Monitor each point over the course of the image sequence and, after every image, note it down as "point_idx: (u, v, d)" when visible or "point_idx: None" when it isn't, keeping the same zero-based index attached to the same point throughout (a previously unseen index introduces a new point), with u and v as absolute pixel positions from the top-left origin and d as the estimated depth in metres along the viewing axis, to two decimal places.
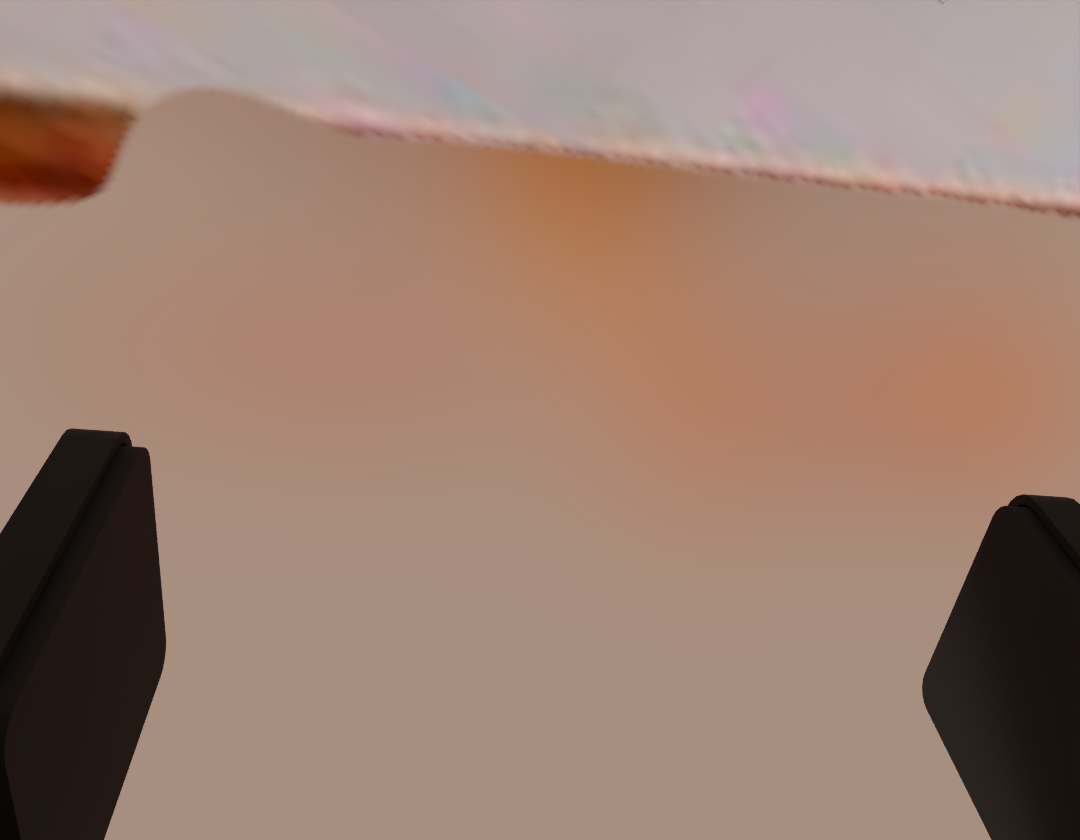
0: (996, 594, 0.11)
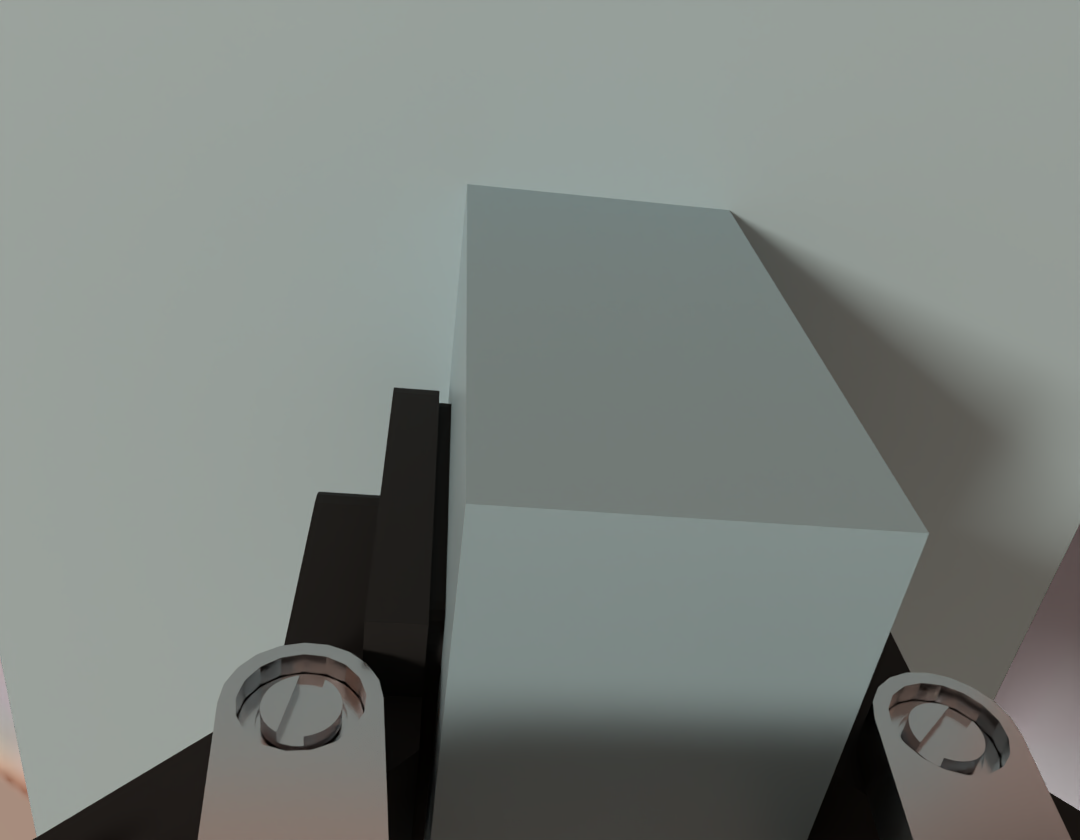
0: None
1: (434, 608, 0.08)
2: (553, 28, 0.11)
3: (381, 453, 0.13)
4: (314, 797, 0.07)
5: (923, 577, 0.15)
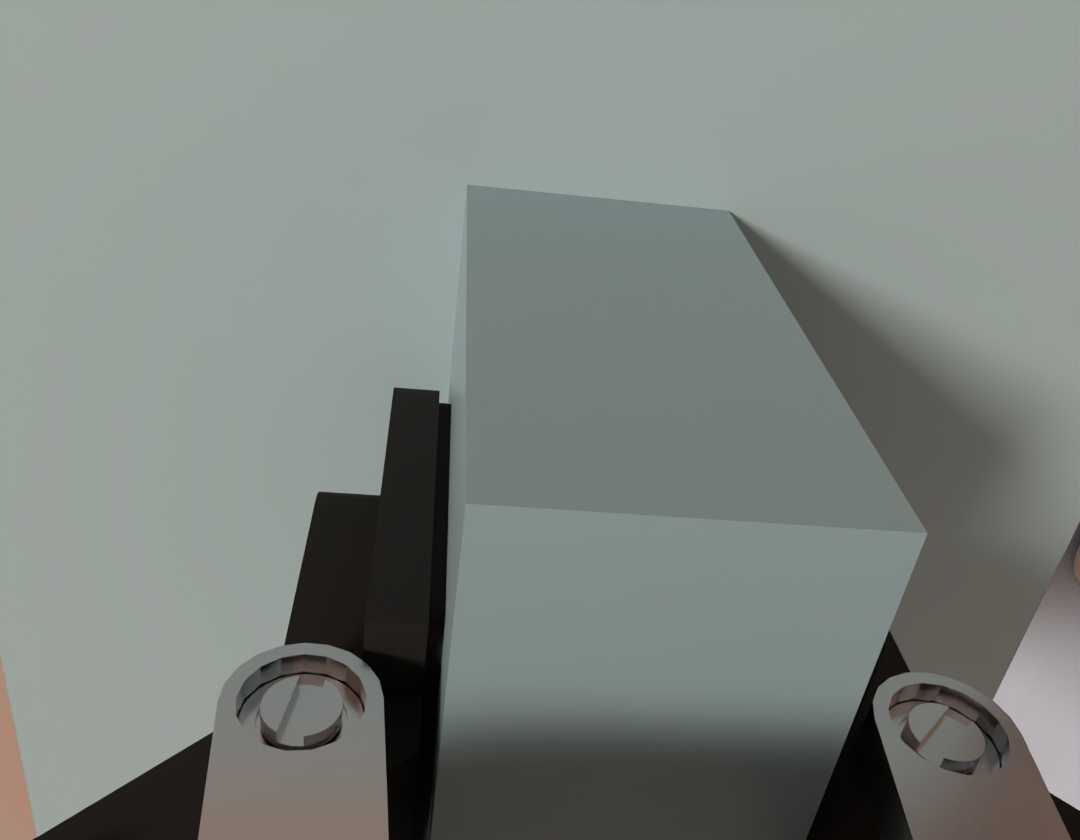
0: None
1: (435, 609, 0.08)
2: (554, 29, 0.11)
3: (382, 453, 0.13)
4: (315, 797, 0.07)
5: (923, 576, 0.15)
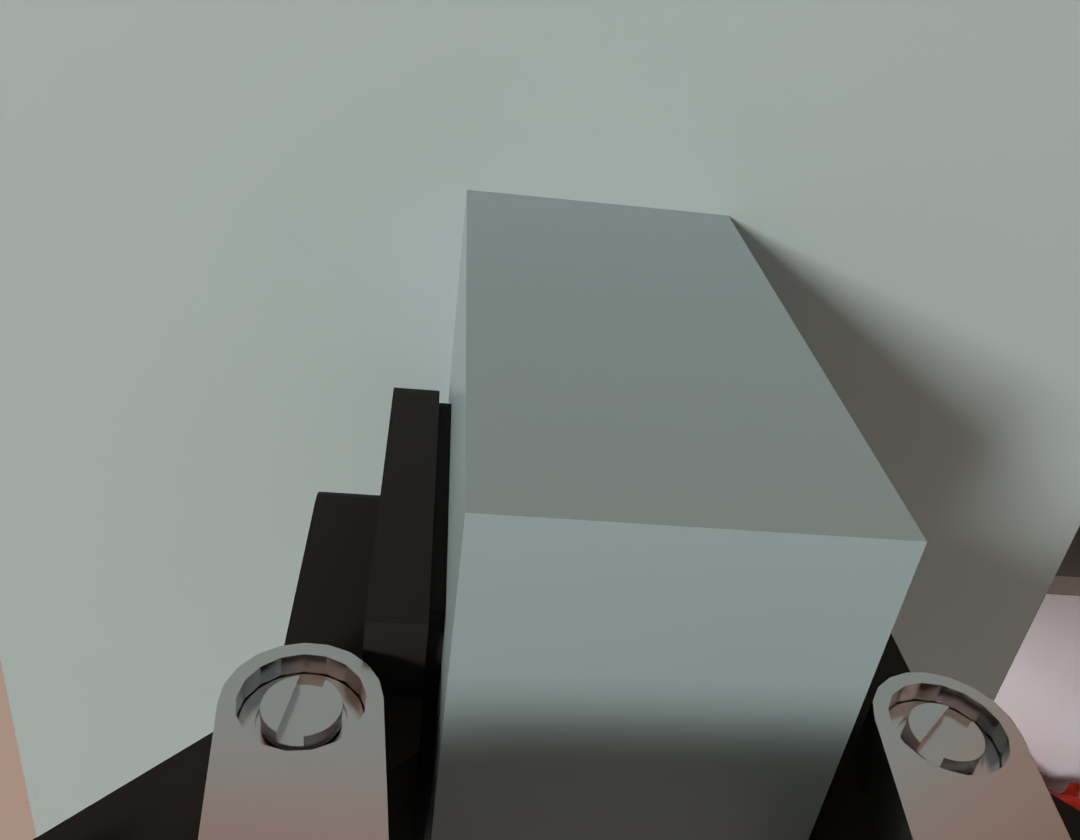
0: None
1: (435, 609, 0.08)
2: (553, 35, 0.11)
3: (381, 457, 0.13)
4: (315, 797, 0.07)
5: (922, 581, 0.15)
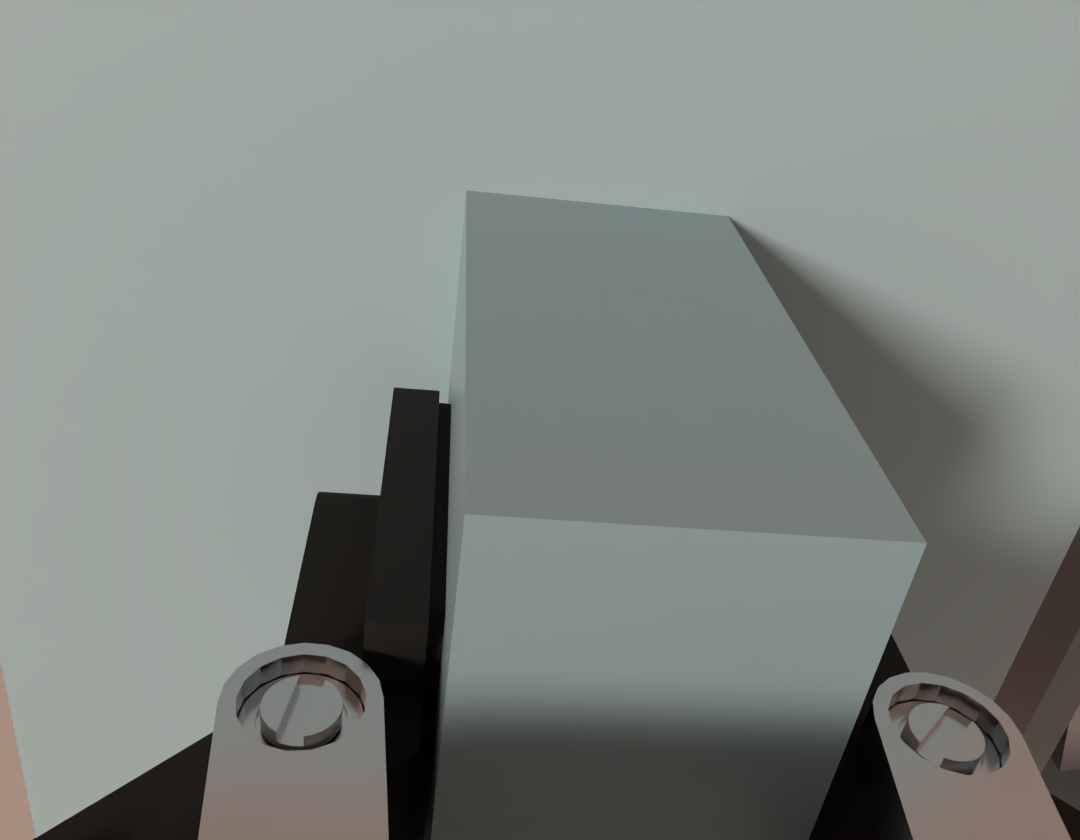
0: None
1: (435, 609, 0.08)
2: (553, 34, 0.11)
3: (382, 458, 0.13)
4: (314, 797, 0.07)
5: (922, 581, 0.15)
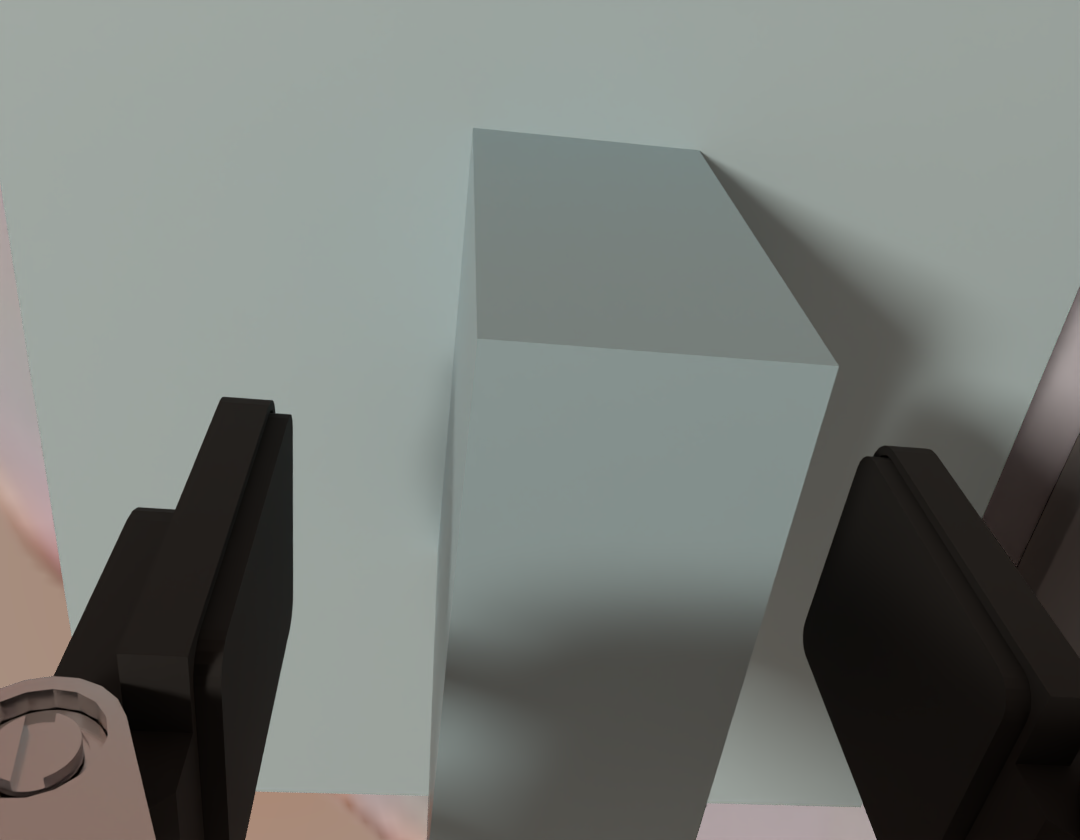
0: (859, 540, 0.12)
1: (205, 638, 0.08)
2: None
3: (398, 370, 0.15)
4: (69, 836, 0.06)
5: None
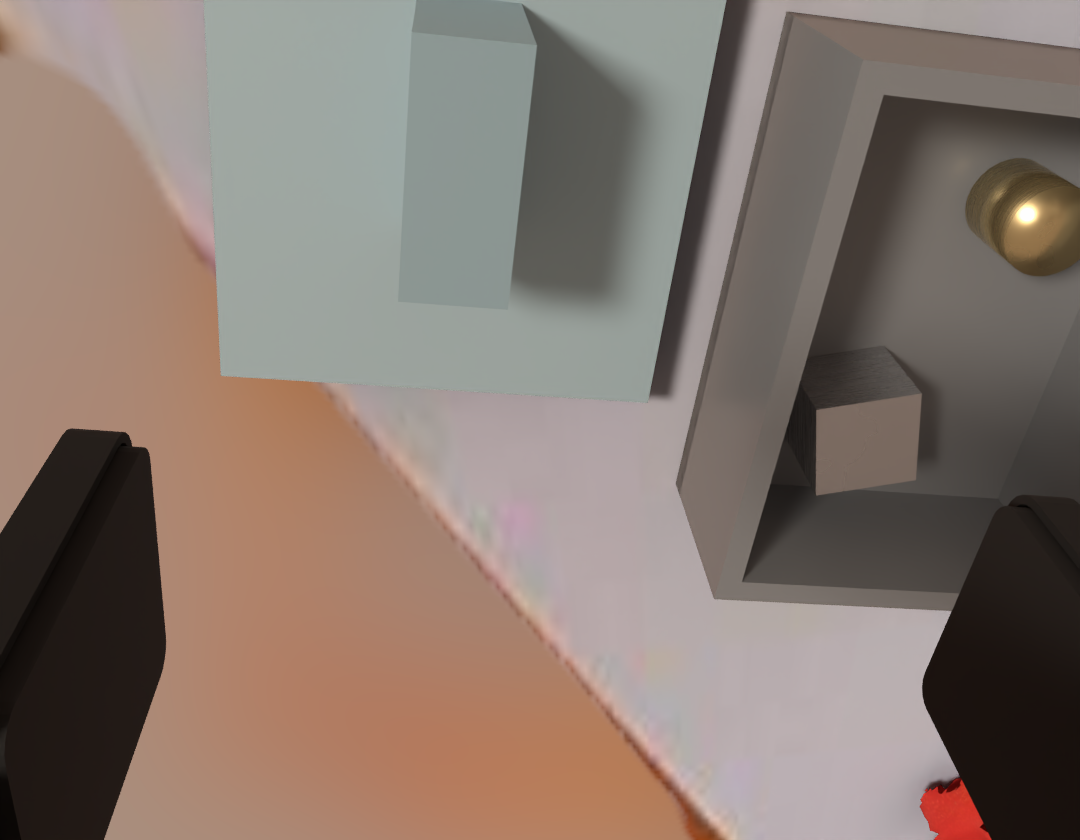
0: (996, 594, 0.11)
1: None
2: None
3: (385, 117, 0.31)
4: None
5: (629, 187, 0.33)
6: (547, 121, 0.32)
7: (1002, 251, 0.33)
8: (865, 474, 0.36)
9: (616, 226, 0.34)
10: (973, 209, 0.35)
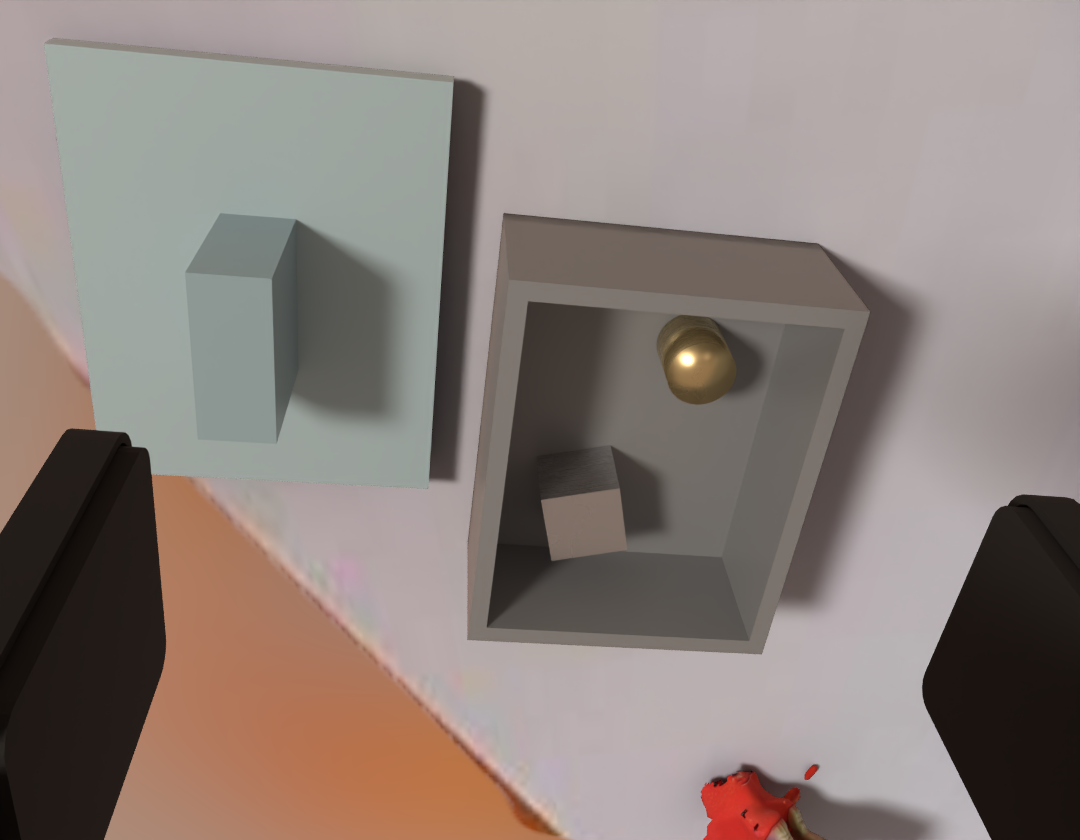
0: (996, 594, 0.11)
1: None
2: (237, 172, 0.41)
3: None
4: None
5: (392, 339, 0.45)
6: (325, 295, 0.44)
7: (669, 386, 0.45)
8: (587, 546, 0.48)
9: (386, 366, 0.45)
10: (658, 351, 0.46)
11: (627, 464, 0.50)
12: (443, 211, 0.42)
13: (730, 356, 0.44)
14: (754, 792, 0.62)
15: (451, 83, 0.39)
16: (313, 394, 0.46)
